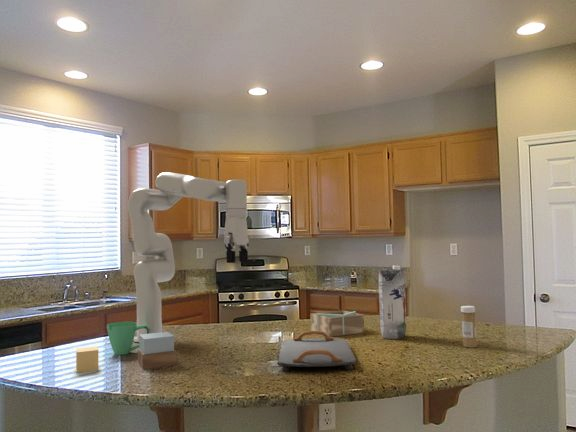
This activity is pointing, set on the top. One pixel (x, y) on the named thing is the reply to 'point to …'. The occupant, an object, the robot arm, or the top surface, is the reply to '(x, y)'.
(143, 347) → the slate block
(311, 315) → the coaster caddy
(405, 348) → the top surface
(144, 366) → the walnut block
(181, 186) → the robot arm
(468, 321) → the sprinkles bottle
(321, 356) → the serving board
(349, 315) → the right angle wall
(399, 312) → the juice carton
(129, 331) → the mug
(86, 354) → the ochre cube
